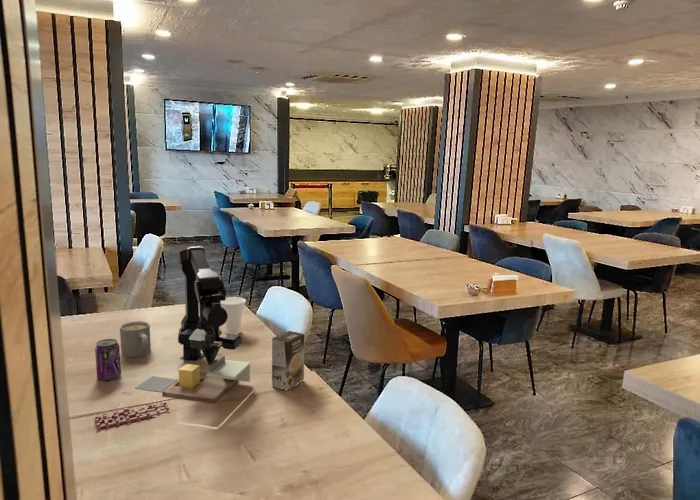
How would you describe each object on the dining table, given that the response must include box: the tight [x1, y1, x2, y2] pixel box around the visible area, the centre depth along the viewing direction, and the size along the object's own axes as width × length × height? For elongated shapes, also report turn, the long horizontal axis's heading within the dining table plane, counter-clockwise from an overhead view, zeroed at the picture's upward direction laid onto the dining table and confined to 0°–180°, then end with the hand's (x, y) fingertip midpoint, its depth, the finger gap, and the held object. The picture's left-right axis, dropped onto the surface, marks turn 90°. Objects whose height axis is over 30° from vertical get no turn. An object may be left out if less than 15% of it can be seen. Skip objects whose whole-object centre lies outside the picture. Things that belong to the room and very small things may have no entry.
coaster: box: [134, 375, 178, 393], centre depth 163 cm, size 9×9×1 cm
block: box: [178, 363, 201, 389], centre depth 162 cm, size 4×4×6 cm
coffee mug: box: [119, 320, 152, 358], centre depth 187 cm, size 13×10×10 cm
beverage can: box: [94, 338, 122, 381], centre depth 167 cm, size 7×7×12 cm
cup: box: [220, 296, 247, 335], centre depth 210 cm, size 10×10×14 cm
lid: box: [206, 354, 251, 383], centre depth 159 cm, size 11×9×8 cm
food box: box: [271, 330, 305, 390], centre depth 165 cm, size 9×6×16 cm
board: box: [161, 369, 239, 403], centre depth 161 cm, size 16×17×2 cm
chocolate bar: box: [94, 400, 171, 431], centre depth 144 cm, size 7×19×2 cm, turn 121°
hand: (210, 365), depth 159 cm, fingers closed
